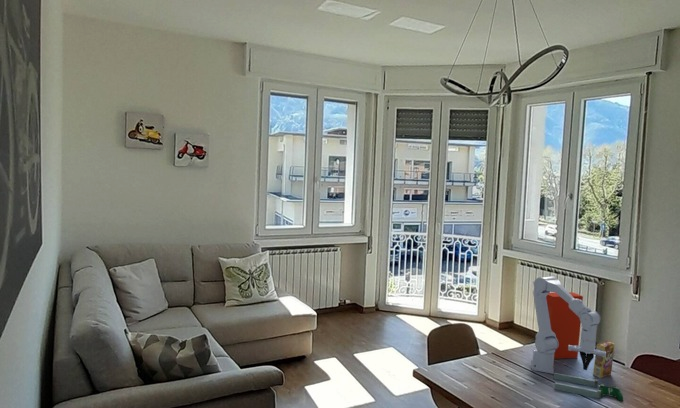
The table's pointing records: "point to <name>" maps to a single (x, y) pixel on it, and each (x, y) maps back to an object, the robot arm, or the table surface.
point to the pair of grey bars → (577, 389)
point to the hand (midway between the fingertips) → (585, 369)
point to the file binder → (564, 324)
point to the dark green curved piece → (611, 391)
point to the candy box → (604, 360)
